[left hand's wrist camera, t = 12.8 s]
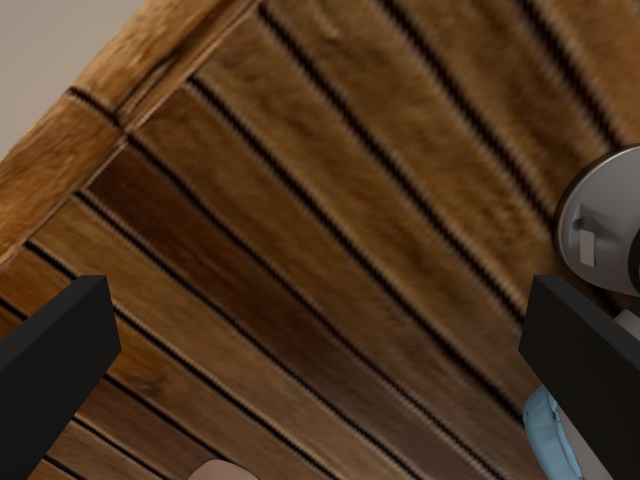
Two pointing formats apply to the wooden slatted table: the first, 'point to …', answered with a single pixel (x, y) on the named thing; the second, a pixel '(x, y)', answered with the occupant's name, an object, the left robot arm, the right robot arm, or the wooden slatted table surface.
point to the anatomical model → (221, 472)
